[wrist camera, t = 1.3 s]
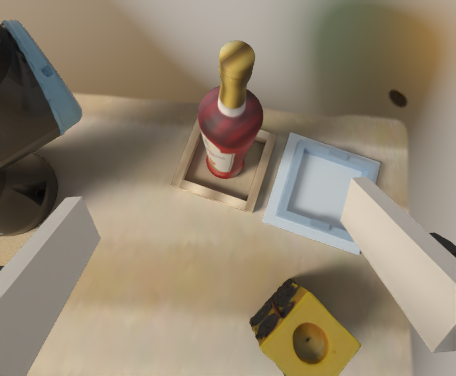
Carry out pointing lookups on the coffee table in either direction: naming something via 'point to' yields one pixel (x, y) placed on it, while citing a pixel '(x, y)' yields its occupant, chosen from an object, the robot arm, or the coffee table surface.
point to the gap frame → (215, 195)
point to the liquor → (230, 112)
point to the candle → (302, 334)
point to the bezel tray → (316, 190)
